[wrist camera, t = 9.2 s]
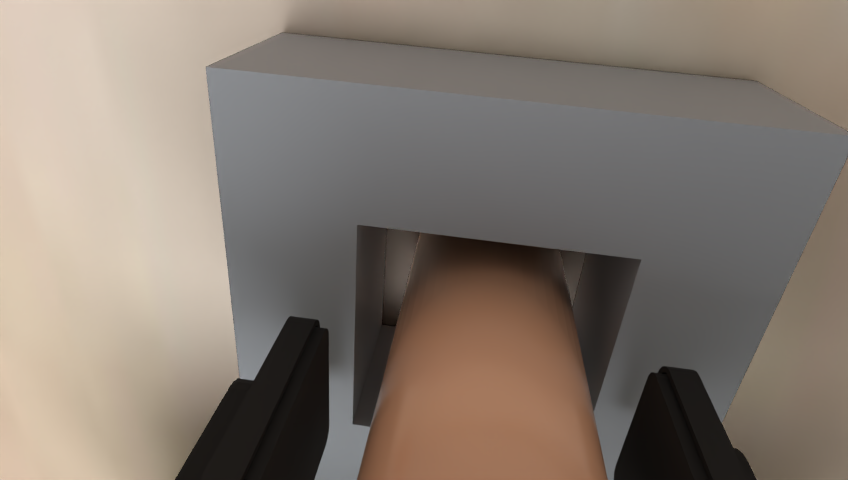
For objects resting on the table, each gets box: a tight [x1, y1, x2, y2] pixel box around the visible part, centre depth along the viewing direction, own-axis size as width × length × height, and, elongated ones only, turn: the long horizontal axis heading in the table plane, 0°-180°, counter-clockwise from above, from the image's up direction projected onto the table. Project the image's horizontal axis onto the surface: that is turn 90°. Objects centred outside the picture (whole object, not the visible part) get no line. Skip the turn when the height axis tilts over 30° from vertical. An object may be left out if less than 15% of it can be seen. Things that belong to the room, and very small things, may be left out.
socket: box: [206, 33, 848, 480], centre depth 15 cm, size 11×18×4 cm, turn 176°
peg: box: [357, 232, 608, 480], centre depth 10 cm, size 4×4×12 cm
